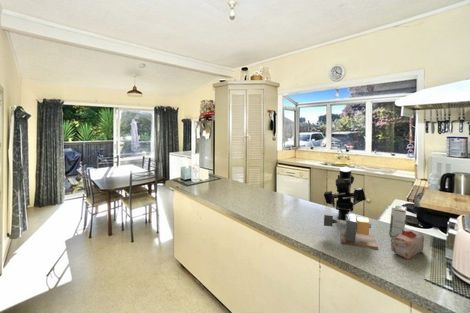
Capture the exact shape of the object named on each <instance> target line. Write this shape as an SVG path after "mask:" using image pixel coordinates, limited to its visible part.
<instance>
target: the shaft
mask: <svg viewBox="0 0 470 313" xmlns="http://www.w3.org/2000/svg"><path fill="white" fill-rule="evenodd" d="M333 224H334V225H335V224H336V225H343V226H345V225H346V221H343V220H338V219H334V216H333V215H328V214H324V216H323V226H325V227H333V226H334V225H333ZM356 226H357V222H356ZM371 228H372V224H371V223H369V229H371Z"/></svg>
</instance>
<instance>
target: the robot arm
mask: <svg viewBox="0 0 470 313" xmlns="http://www.w3.org/2000/svg"><path fill="white" fill-rule="evenodd" d="M354 181H355V177H354V176H353V175H352V168H350V167H348V166H343V167H340V168H339V174H337V178H336V179H335V187H336V192H335V193H333V191H332V190H331V191H324V193H323V197H324V200H325V202H326V204H327V205H331V206H332V207H333V208H335V210H337V211H338V216H336V218H337V219H336V220H343V221H346V214H350V212H351V213H352V212H354V206H355V205H357V204H358V203H360V202H363V201H366V200H367V199H366V193H365V189H364V188H363V187H356V188H354V189H353V192H351V187H352V185H353V183H354ZM335 199H336V200H335ZM352 199H353V200H352Z"/></svg>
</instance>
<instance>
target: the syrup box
mask: <svg viewBox="0 0 470 313" xmlns="http://www.w3.org/2000/svg"><path fill="white" fill-rule="evenodd" d="M390 212H391V213H390V222H389V224H390V225H389V234H388V236H392V237H395V235H397V234H398V236H399V235H401V234H402V233H403V232H402V229H403V230H404V231H405V229H406V226H405V225H406V220H407V219H406V218H407V207H406V206H402V205H398V204H397V205H396V204H395V205H394V204H392V207H391V211H390Z"/></svg>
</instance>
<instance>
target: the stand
mask: <svg viewBox="0 0 470 313" xmlns="http://www.w3.org/2000/svg"><path fill="white" fill-rule="evenodd" d="M340 244H341V245H349V246H355V247H360V248H362V247H363V248H368V249H374V250H379V246H378V244H377V240H376V238H375V235H373V234H369V235H364V234H357V233H356V214H355V213H353V214H352V213H349V214H346V225H344V231H343V230H340Z"/></svg>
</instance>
